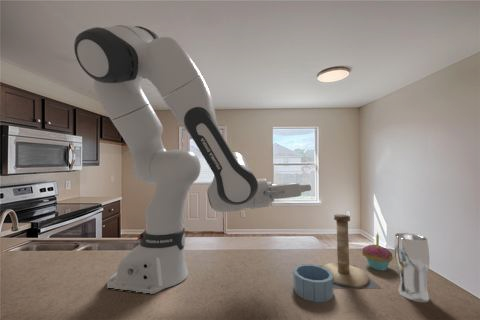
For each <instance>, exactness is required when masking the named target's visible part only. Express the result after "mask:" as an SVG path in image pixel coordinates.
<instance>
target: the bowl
mask: <svg viewBox="0 0 480 320" xmlns="http://www.w3.org/2000/svg"><path fill="white" fill-rule="evenodd" d="M292 278H293V279H292V284H293V291H294V292H295V295H297V296H299V297H301V298H302V299H303V300H305V301H309V302H313V303H326V302H328V301H332V300H333V299H334V294H335V291H334V290H335V289H334V283H333V274H332V273H331V272H330V271H329V270H328V269H326V268H324V267H322V266H317V265H316V264H310V263H309V264H299V265H297V266H295V267H294V268H293V270H292Z"/></svg>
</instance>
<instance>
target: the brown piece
mask: <svg viewBox="0 0 480 320" xmlns="http://www.w3.org/2000/svg"><path fill="white" fill-rule="evenodd" d="M333 220H334V221H336V222H335V223H336V251H337V252H336V253H337V262H329V263H325V264H323V266H322V267H324V268H326V269H328V270H329V271H330V272H331V273H332V274H333V283H335V284H338V285H341V286H346V287H363V286H366V285H367V284H368V283H369V278H370V276H369V275H368V274H367V272H365V271H364V270H363V269H362V268H358V266H356V267H354V266H351V265H350V249H349V248H350V247H349V246H350V245H349V243H350V241H349V222H351V216H350V215H348V214H340V213H339V214H334V217H333Z"/></svg>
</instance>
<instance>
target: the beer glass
mask: <svg viewBox="0 0 480 320" xmlns="http://www.w3.org/2000/svg"><path fill="white" fill-rule="evenodd" d="M394 257H395V261H396V266H397V269H398V270H397V271H398V274H399V286H398V293H399V294H400V295H401V296H402V297H404V298H406V299H408V300H410V301H413V302H417V303H429V302H430V296H429V293H428V286H427V282H428V280H427V279H428V274H429V271H430V270H429V269H430V250H429V243H428V238H427V237H425V236H422V235H418V234H414V233H407V232H399V233H397V232H396V233H395V234H394Z"/></svg>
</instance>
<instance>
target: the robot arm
mask: <svg viewBox="0 0 480 320" xmlns="http://www.w3.org/2000/svg"><path fill="white" fill-rule="evenodd" d="M73 48H74V55H75V57H76V60H77V62H78V64H79V65H80V67H81V69H82V70H83V71H84V73H85V74H86V75H87V76H89V77H90V78H91V79H93V80H94V81H93V88H94V90H95V94H96V96H97V98H98V99H99V101H100V103H101V106H102V107H103V109H104V111H105V113H106V114H107V116H108V117H109V119H110V121H111V122H112V124H113V125H114V127H115V128H116V129H117V131H118V132H119V134H120V136H121V138H123V140H124V142H125V144H126V146H127V148H128V150H129V153H130V155H131V157H132V160H133V167H132V168H133V174H134V176H135V177H136V179H137V180H139V181H141V182H142V183H145V184H148V185H149V186H150V185H152V186H155V191H154V194H153V197H152V198H151V200H150V201H149V202H148V203H147V204H146V208H145V209H146V210H145V229H144V230H143V232H141V233H140V234H139V235H138V236H137V239H136V240H137V241H139V243H138V244H137V245H136V246H135V247H134V248H133V249H131V250H130V251H129V252H128V253H126V254H125V255H123V257H122V258H121V260H120V261H119V263H118V265H117V269H116V272H115V273H114V274H113V275H112V276H110V278H109V279H108V280H107V283H106V288H107V289H108V288H117V289H126V290H132V291H136V292H135V293H138V292H143V293H142V294H146V293H150V294H149V295H153V294H156V293H159V292H161V291H163V290H164V289H167V288H170V287H173V286H177V285H178V284H180V283H182V282H183V281H184V280H186V278H187V277H189V269H188V266H187V262H186V257H185V256H186V255H185V245H186V232H185V227H184V217H185V215H184V214H185V212H184V211H185V210H184V209H185V201H186V199H187V195H188V192H189V191H190V188H191V186H192V185H193V184H194V183H195V181H197V180H198V178H199V177H200V173H201V168H202V167H201V161H200V159H199V157H198V156H197V155H196V154H195V153H193V152H192V151H189V150H185V149H184V150H183V149H170V150H167V149H166V148H165V146H164V143H163V139H162V135H163V131H164V126H163V124H162V122H161V120H160V118H159V117H158V116H157V113H156V112H155V110H154V108H153V105H152V104H151V103H150V101H149V99H148V97H147V95H146V94H145V93H144V90H143V88H142V81H143V79H146V80H148V81H149V82H150V83H151V84H152V85H153V86H154V87H155V89H156V91H157V92H158V95H159V96H160V97H161V99H162V100H163V101H164V103H165V105H166V106H167V107H168V108H169V110H170V111H171V112H172V114H173V115H174V116H175V118H176V119H177V121H178V122H179V123H180V125H182V127H183V128H184V129H185V130H186V132H187V133H188V134H189V136H190V137H191V138H192V140H193V142H194V144H195V145H196V146H197V148H198V150H199V152H200V153H201V155H202V157H203V158H204V159H205V163H207V165H208V166H209V169H210V170H211V171H212V174H213V175H214V176H213V178H212V181H211V183H210V185H209V186H208V187H207V191H206V192H207V198H208V202H209V206H210V207H211V209H212V210H213V211H214V212H218V213H230V212H238V211H242V210H244V209H245V210H246V209H252V210H253V209H261V208H268V207H270V206H271V205H270V204H271V203H273V202H275V200H281V199H289V198H296V197H297V198H298V197H301V195H302V193H304V192H310V191H312V185H311V184H300V183H298V182H296V183H295V182H293V183H292V182H291V183H281V184H280V183H278V184H277V183H275V184H274V183H273V182H271V181H267V179H266V178H264V177H263V178H256V176H255V175H254V173H253V171H252V169H251V167H250V164H249V163H248V161H247V159H246V157H245V156H244V155H243V154H242V153H240V152H238V151H234V150H233V151H232V150H231V148H230V146H229V144H228V143H227V141H226V139H225V137H224V136H223V134H222V132H221V129H220V126H219V124H218V123H219V122H218V120H217V114H216V110H215V104H214V100H213V97H212V93H211V92H210V89H209V86H208V84H207V83H206V81H205V78H204V76H202V74H201V72H200V69H199V68H198V67H197V65H196V64H195V62H194V61H193V59H192V58H191V56H190V54H188V53H187V51H186V49H184V47H183V46H182V45H181V43H180V42H178V41H177V39H175V38H173V37H170V36H158V34H156V33H155V32H154V31H152V30H151V29H149V28H146V27H143V26H138V25H135V26H132V25H122V24H118V25H114V26H106V27H99V26H98V27H92V28H89V29H85V30H84V31H81V32H80V33H78V34H77V36H76V37H75V40H74V46H73Z"/></svg>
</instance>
